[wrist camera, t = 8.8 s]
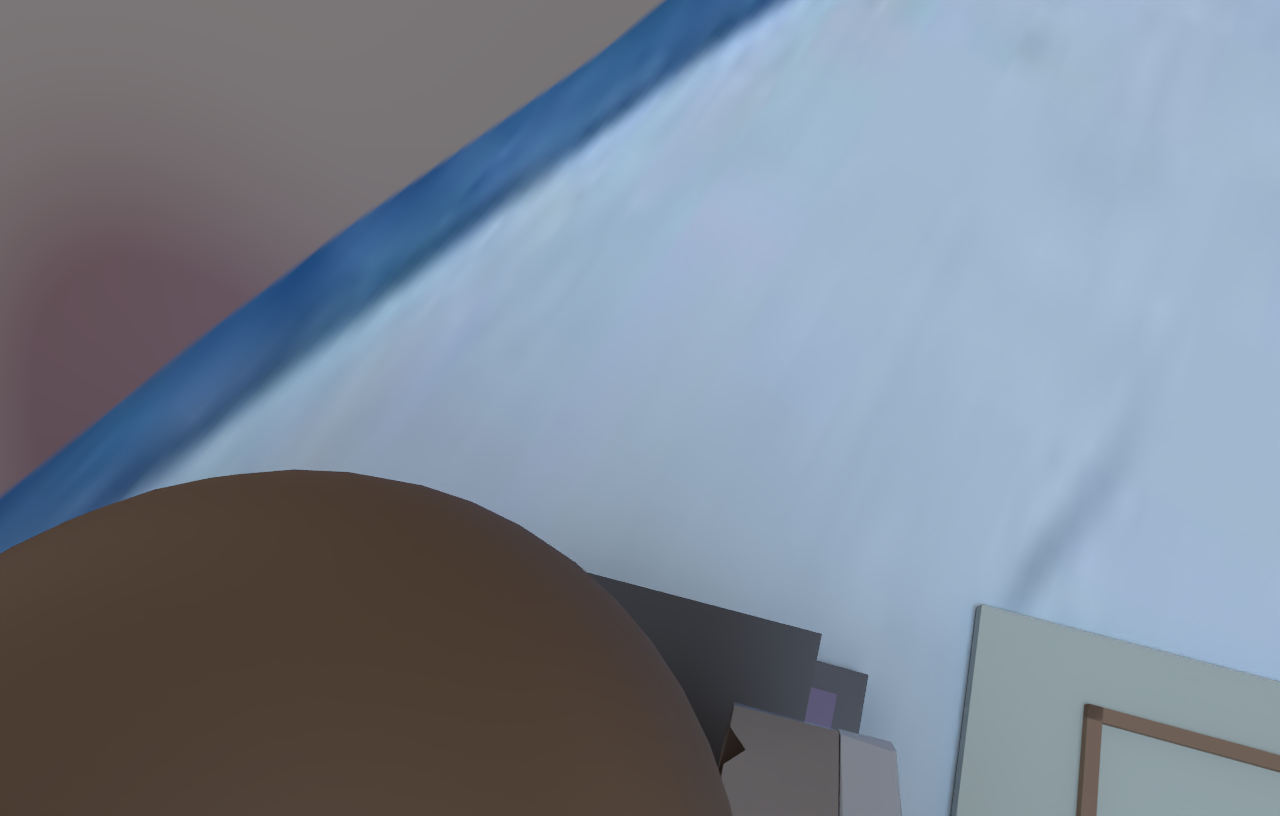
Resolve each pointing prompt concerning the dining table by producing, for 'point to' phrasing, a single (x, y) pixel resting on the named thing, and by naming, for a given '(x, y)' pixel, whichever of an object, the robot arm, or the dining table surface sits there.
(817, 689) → the ink pad
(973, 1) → the dining table surface
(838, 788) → the robot arm
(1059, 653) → the print card
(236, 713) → the stamp
